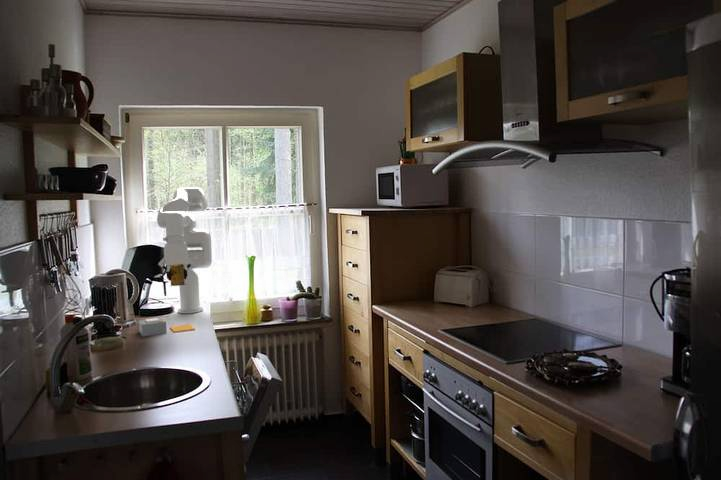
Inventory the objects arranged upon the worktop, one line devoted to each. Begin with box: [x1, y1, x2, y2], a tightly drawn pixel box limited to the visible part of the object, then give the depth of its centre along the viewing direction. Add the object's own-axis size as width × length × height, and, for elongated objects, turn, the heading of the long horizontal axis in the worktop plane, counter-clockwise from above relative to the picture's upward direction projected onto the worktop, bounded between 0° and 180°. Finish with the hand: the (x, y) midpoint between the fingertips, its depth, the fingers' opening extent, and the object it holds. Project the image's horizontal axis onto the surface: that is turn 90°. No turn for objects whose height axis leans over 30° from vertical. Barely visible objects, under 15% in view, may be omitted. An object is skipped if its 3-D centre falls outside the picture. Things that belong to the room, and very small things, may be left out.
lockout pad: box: [169, 323, 196, 333], centre depth 269 cm, size 11×9×1 cm
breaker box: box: [138, 317, 167, 337], centre depth 264 cm, size 10×10×5 cm
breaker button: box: [144, 317, 159, 323], centre depth 264 cm, size 5×5×4 cm
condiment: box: [170, 265, 186, 287], centre depth 271 cm, size 7×8×12 cm
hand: (177, 279), depth 270 cm, fingers closed on condiment, 6 cm apart
